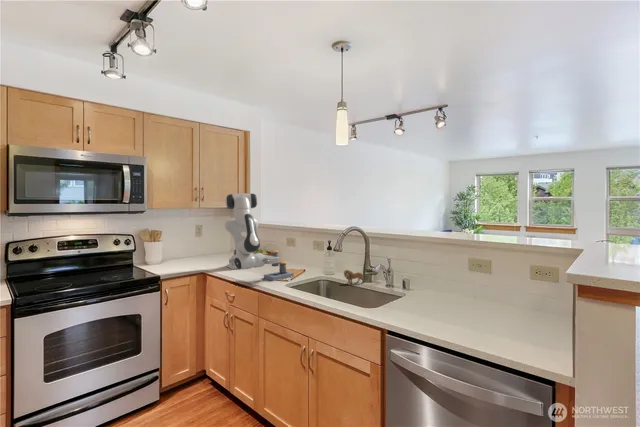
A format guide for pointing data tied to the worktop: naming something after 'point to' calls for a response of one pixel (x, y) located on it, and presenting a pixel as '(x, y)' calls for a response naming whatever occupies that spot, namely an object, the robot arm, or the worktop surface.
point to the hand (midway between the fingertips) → (276, 257)
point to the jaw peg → (275, 254)
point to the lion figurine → (353, 276)
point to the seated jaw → (282, 267)
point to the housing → (277, 276)
